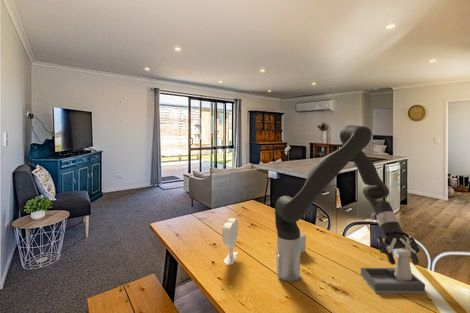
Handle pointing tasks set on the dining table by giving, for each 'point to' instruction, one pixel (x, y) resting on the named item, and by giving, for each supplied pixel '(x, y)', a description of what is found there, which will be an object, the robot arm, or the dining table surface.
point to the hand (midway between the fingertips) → (405, 264)
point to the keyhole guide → (390, 281)
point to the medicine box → (302, 243)
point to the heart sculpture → (230, 238)
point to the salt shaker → (403, 266)
